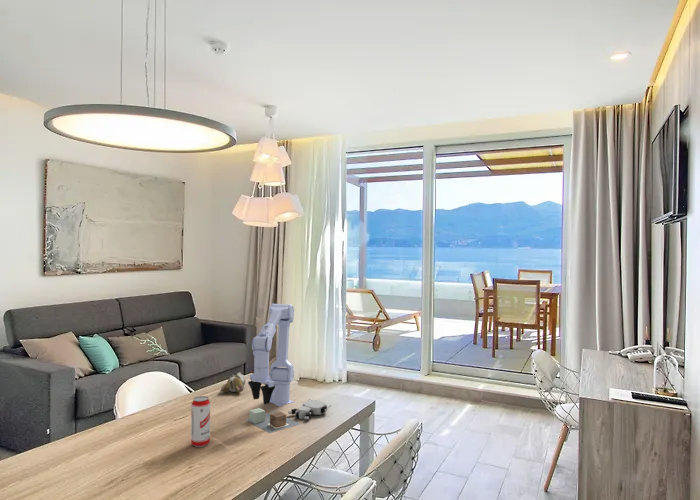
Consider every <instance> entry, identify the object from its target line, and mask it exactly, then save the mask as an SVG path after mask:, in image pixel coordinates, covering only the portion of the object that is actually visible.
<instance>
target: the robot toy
mask: <svg viewBox="0 0 700 500" xmlns="http://www.w3.org/2000/svg"><path fill="white" fill-rule="evenodd" d="M330 407H332V404H330V405H329V406H328V404H327V403H326V402H324V401H322V400H320V399H319V400H318V399H311V398H309V399H308V400H306V401H304V402H303V404H302V406H300V407H298V408H293V409H291V410H289V411H287V414H289V415H295V418H297V419H301V420H303V419H304V420H310V419H311V418H312V416H313V415H315V416H317V415H318V416H319V415H323V414H324V413H327V411H328V409H329V408H330Z"/></svg>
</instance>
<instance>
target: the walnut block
mask: <svg viewBox="0 0 700 500" xmlns="http://www.w3.org/2000/svg"><path fill="white" fill-rule="evenodd" d="M274 412H275V413H272V412H271V413H272V414H270V425H272V426H274V427H276V428H277V427H280V426H284V425H286V417H287V414H286V413H284V412H282V411H274Z"/></svg>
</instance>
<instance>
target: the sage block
mask: <svg viewBox="0 0 700 500" xmlns="http://www.w3.org/2000/svg"><path fill="white" fill-rule="evenodd" d="M248 414H249V415H248V419H249V421H251V422H253V423H255V424H256V423H259V422H263V421H265V414H266V410H264V409H262V408H261V407H258V408H253V409H249V410H248Z"/></svg>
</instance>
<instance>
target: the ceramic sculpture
mask: <svg viewBox="0 0 700 500" xmlns="http://www.w3.org/2000/svg"><path fill="white" fill-rule="evenodd" d="M246 383H247V382H246V379H245V377H244V375H243V374H242V373H241V372H240V371H239V372H237V373H233V374H232V375H231V376H230V377H229V378H228V379H227V381H226V383H225V384H223V385H222V386H221V388H220V390H219V392H221V393H222V392H223V393H226V392H227V391H229V392H232V393H241V392H243V391H244V387H245V385H246Z"/></svg>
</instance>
